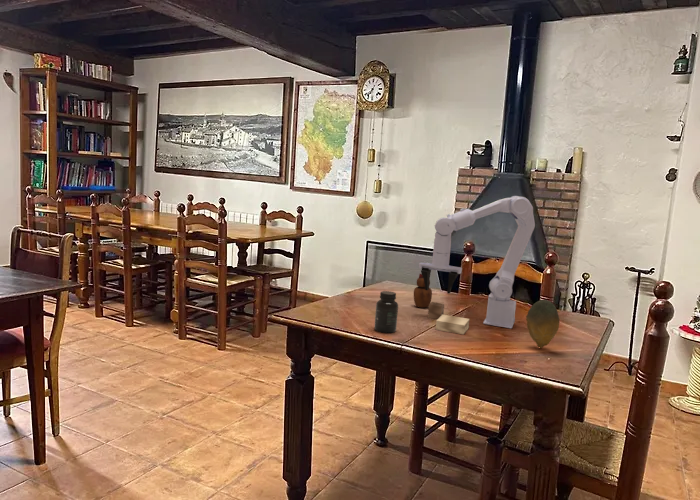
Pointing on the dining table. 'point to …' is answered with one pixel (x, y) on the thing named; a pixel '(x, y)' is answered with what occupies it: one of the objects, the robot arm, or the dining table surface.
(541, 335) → the mango
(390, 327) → the supplement bottle
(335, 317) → the dining table surface
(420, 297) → the wooden figurine
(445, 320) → the base block
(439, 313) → the walnut block
